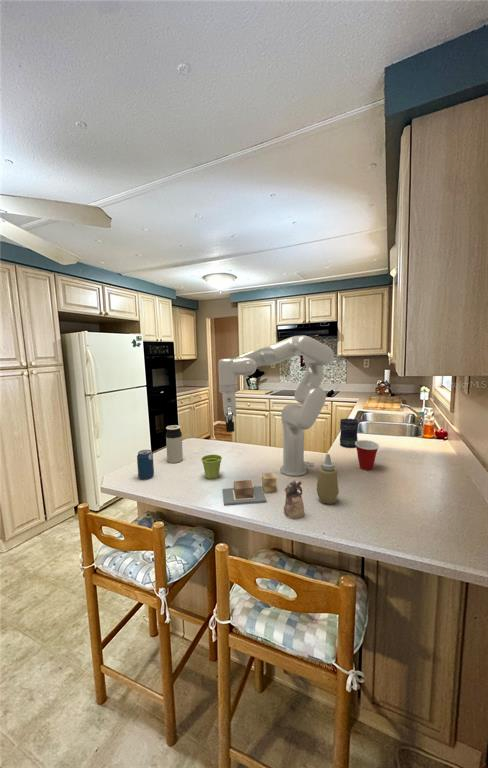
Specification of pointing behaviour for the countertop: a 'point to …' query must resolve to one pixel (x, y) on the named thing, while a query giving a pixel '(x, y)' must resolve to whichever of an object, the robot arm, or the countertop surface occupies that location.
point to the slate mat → (230, 498)
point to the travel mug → (174, 444)
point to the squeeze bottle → (327, 482)
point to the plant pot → (211, 465)
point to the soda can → (145, 464)
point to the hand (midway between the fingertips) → (229, 428)
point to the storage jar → (348, 433)
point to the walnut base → (243, 489)
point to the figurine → (293, 500)
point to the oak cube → (269, 482)
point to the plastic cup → (366, 453)
